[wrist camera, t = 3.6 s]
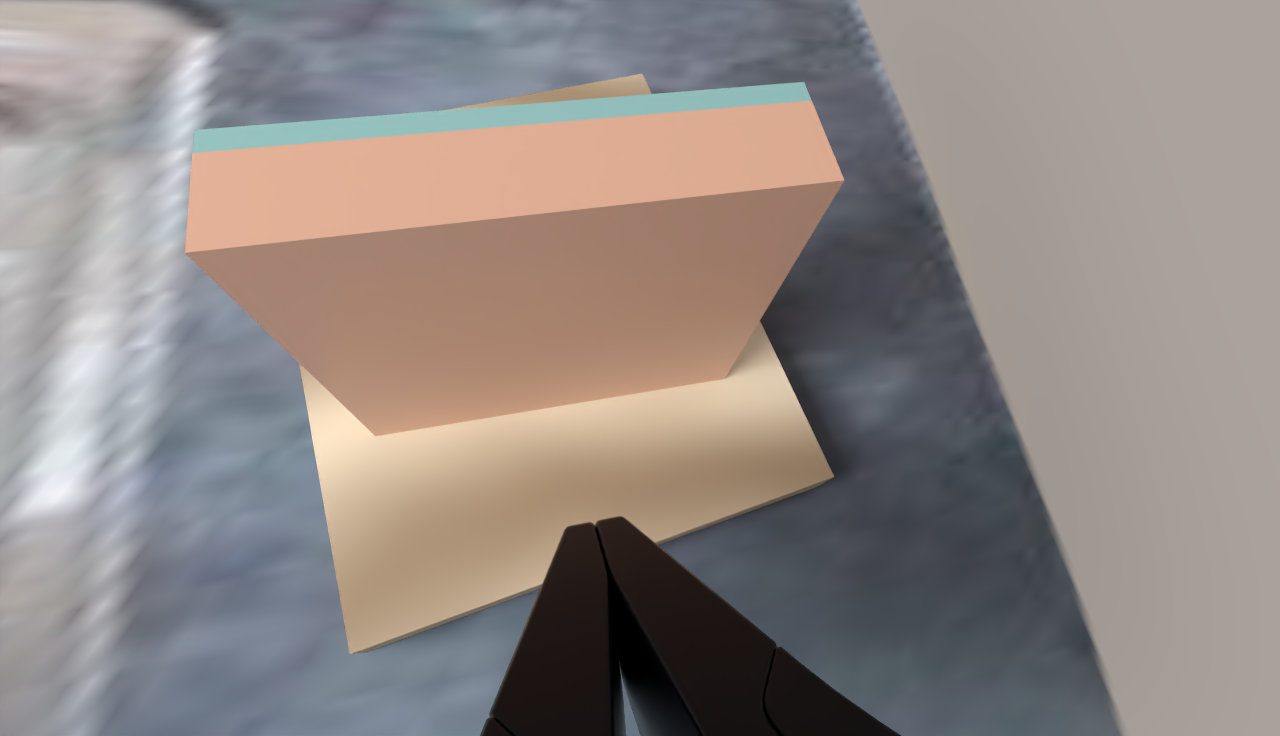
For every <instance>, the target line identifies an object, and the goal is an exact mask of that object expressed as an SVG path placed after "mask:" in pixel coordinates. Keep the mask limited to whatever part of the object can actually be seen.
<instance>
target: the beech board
mask: <svg viewBox="0 0 1280 736" xmlns="http://www.w3.org/2000/svg"><path fill="white" fill-rule="evenodd" d="M647 94H652V93H651V91H650V89H649V87H648V85H647V83H646V81H645V78H644V76H643V74H638V75H633V76H627V77H622V78H617V79H611V80H606V81H600V82H595V83H589V84H584V85H579V86H573V87H568V88H562V89H557V90H551V91H546V92H541V93H535V94H530V95H524V96H519V97H513V98H508V99H503V100H497V101H492V102H486V103H481V104H475V105H470V106H465V107H459V108H454V109H448V110H457V109H469V108H482V107H495V106H507V105H520V104H533V103H545V102H558V101H571V100H583V99H596V98H609V97H621V96H634V95H647ZM443 111H444V110H443ZM299 364H300V363H299ZM300 370H301V375H302V381H303V387H304V393H305V398H306V404H307V410H308V416H309V421H310V427H311V433H312V439H313V445H314V450H315V456H316V462H317V468H318V473H319V479H320V485H321V491H322V496H323V502H324V508H325V514H326V519H327V525H328V531H329V537H330V543H331V548H332V554H333V560H334V566H335V571H336V577H337V583H338V589H339V594H340V600H341V606H342V612H343V618H344V623H345V629H346V635H347V641H348V646H349V652H350V654H356V653H364V652H369V651H372V650H374V649H377V648H380V647H383V646H385V645H388V644H391V643H393V642H396V641H399V640H402V639H404V638H407V637H410V636H412V635H415V634H418V633H421V632H423V631H426V630H429V629H432V628H434V627H437V626H440V625H442V624H445V623H448V622H451V621H453V620H456V619H459V618H461V617H464V616H467V615H470V614H472V613H475V612H478V611H481V610H483V609H486V608H489V607H491V606H494V605H497V604H500V603H502V602H505V601H508V600H510V599H513V598H516V597H519V596H521V595H524V594H527V593H529V592H532V591H535V590H538V589H540V588H541V586H542V583H543V581H544V578H545V576H546V573H547V571H548V568H549V566H550V564H551V561H552V559H553V556H554V554H555V551H556V549H557V546H558V544H559V542H560V539H561V537H562V534H563V532H564V530H565V528H566V527H568V526H571V525H576V524H581V523H586V522H592V523H593V524H594V525H595V524H596V522H597V521H598V520H601V519H606V518H611V517H617V516H622V517H625V518H626V519H627V520H628V521H630V522H631V523H632V524H633V525H634V526H636V527H637V528H638V529H639V530H640V531H642V532H643V533H644V534H645V535H646V536H648V537H649V538H650V539H651V540H652V541H654V542H655V543H656V544H657V545H660V544H663V543H665V542H668V541H671V540H674V539H676V538H679V537H682V536H685V535H687V534H690V533H693V532H695V531H698V530H701V529H704V528H706V527H709V526H712V525H714V524H717V523H720V522H723V521H725V520H728V519H731V518H733V517H736V516H739V515H742V514H744V513H747V512H750V511H753V510H755V509H758V508H761V507H763V506H766V505H769V504H772V503H774V502H777V501H780V500H782V499H785V498H788V497H791V496H793V495H796V494H799V493H802V492H804V491H807V490H810V489H812V488H815V487H818V486H819V485H821V484H823V483H825V482H826V481H828V480H830V479H831V478H833V477H834V475H833V473H832V471H831V469H830V467H829V465H828V463H827V460H826V458H825V456H824V454H823V452H822V450H821V448H820V446H819V444H818V442H817V439H816V437H815V435H814V433H813V431H812V429H811V427H810V425H809V423H808V421H807V418H806V416H805V414H804V412H803V410H802V408H801V406H800V404H799V402H798V400H797V398H796V395H795V393H794V391H793V389H792V387H791V385H790V383H789V381H788V379H787V377H786V374H785V372H784V370H783V368H782V366H781V364H780V362H779V360H778V358H777V356H776V353H775V351H774V349H773V347H772V345H771V343H770V341H769V339H768V337H767V335H766V332H765V330H764V328H763V326H762V324H761V322H760V321H759V323H758V324H757V326H756V328H755V329H754V331H753V333H752V334H751V336H750V337H749V339H748V341H747V342H746V344H745V346H744V347H743V349H742V351H741V352H740V354H739V356H738V357H737V359H736V361H735V362H734V364H733V366H732V367H731V369H730V371H729V372H728V374H727V376H726V377H725V379H722V380H716V381H710V382H703V383H697V384H691V385H685V386H679V387H673V388H667V389H661V390H655V391H649V392H643V393H636V394H630V395H624V396H618V397H612V398H606V399H600V400H594V401H588V402H582V403H576V404H569V405H563V406H557V407H551V408H545V409H539V410H533V411H527V412H521V413H515V414H509V415H502V416H496V417H490V418H484V419H478V420H472V421H466V422H460V423H454V424H448V425H442V426H436V427H429V428H423V429H417V430H411V431H405V432H399V433H393V434H387V435H381V436H375V435H374V434H372V433H371V432H370V431H369V430H368V429H367V428H366V427H365V426H364V425H363V424H362V423H361V422H360V421H359V420H358V419H357V418H356V417H355V416H354V415H353V414H352V413H351V412H350V411H349V410H348V409H347V408H345V407H344V406H343V405H342V404H341V403H340V402H339V401H338V400H337V399H336V398H335V397H334V396H333V395H332V394H331V393H330V392H329V391H328V390H327V389H326V388H325V387H324V386H323V385H322V384H321V383H320V382H319V381H317V380H316V379H315V378H314V377H313V376H312V375H311V374H310V373H309V372H308V371H307V370H306V369H305V368H304V367H303V366H302V365H301V364H300Z"/></svg>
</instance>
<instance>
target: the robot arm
mask: <svg viewBox="0 0 1280 736" xmlns="http://www.w3.org/2000/svg"><path fill="white" fill-rule="evenodd" d="M620 670H621V674H620ZM621 675H622V679H623V682H624V686H625V689H626V692H627V696H628V699H629V702H630V705H631V708H632V711H633V714H634V717H635V720H636V723H637V726H638V729H639V732H640V735H641V736H901V735H899V734H898V733H896V732H895V731H893V730H892V729H890V728H889V727H887V726H886V725H884V724H883V723H881V722H880V721H878V720H877V719H875V718H874V717H872V716H871V715H870V714H868V713H867V712H865V711H864V710H862V709H861V708H860V707H858V706H857V705H855V704H854V703H852V702H851V701H850V700H848V699H847V698H845V697H844V696H843V695H841V694H840V693H838V692H837V691H835V690H834V689H833V688H832V687H830V686H829V685H828V684H827V683H825V682H824V681H823V680H821V679H820V678H819V677H818V676H816V675H815V674H814V673H812V672H811V671H810V670H809V669H807V668H806V667H805V666H804V665H802V664H801V663H800V662H799V661H797V660H796V659H795V658H794V657H793V656H791V655H790V654H789V653H788V652H787V651H785V650H784V649H783V648H782V647H777V645H776V643H775V642H774V641H773V640H772V639H771V638H769V637H768V636H767V635H766V634H765V633H763V632H762V631H761V630H760V629H759V628H757V627H756V626H755V625H754V624H753V623H751V622H750V621H749V620H748V619H746V618H745V617H744V616H743V615H742V614H740V613H739V612H738V611H737V610H736V609H734V608H733V607H732V606H731V605H730V604H728V603H727V602H726V601H725V600H724V599H722V598H721V597H720V596H719V595H718V594H716V593H715V592H714V591H713V590H712V589H710V588H709V587H708V586H707V585H706V584H704V583H703V582H702V581H701V580H699V579H698V578H697V577H696V576H695V575H693V574H692V573H691V572H690V571H689V570H687V569H686V568H685V567H684V566H683V565H681V564H680V563H679V562H678V561H677V560H675V559H674V558H673V557H672V556H671V555H669V554H668V553H667V552H666V551H665V550H663V549H662V548H661V547H660V546H658V545H657V544H656V543H655V542H654V541H652V540H651V539H650V538H649V537H648V536H646V535H645V534H644V533H643V532H642V531H640V530H639V529H638V528H637V527H636V526H634V525H633V524H632V523H631V522H630V521H628V520H627V519H626V518H625V517H622V516H617V517H611V518H606V519H601V520H598V521H597V522H596V524H595V525H594V524H593V523H592V522H586V523H581V524H576V525H571V526H568V527H566V528H565V530H564V532H563V534H562V537H561V539H560V542H559V544H558V546H557V549H556V551H555V554H554V556H553V559H552V561H551V564H550V566H549V568H548V571H547V573H546V576H545V578H544V581H543V583H542V586H541V588H540V591H539V593H538V595H537V598H536V600H535V603H534V605H533V608H532V610H531V613H530V615H529V617H528V620H527V622H526V625H525V627H524V630H523V632H522V635H521V637H520V640H519V642H518V644H517V647H516V649H515V652H514V654H513V657H512V659H511V662H510V664H509V667H508V669H507V671H506V674H505V676H504V679H503V681H502V684H501V686H500V689H499V691H498V693H497V696H496V698H495V701H494V703H493V706H492V708H491V711H490V714H489V715H490V718H488V719H487V720H486V722H485V725H484V727H483V729H482V732H481V734H480V736H626V729H625V716H624V703H623V692H622V683H621Z"/></svg>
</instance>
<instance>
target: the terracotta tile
mask: <svg viewBox="0 0 1280 736" xmlns="http://www.w3.org/2000/svg"><path fill="white" fill-rule="evenodd" d="M843 182H844V178H843V176H842V173H841V171H840V168H839V166H838V164H837V161H836V159H835V156H834V154H833V151H832V149H831V147H830V144H829V142H828V139H827V137H826V134H825V132H824V130H823V127H822V125H821V122H820V120H819V117H818V115H817V113H816V110H815V108H814V105H813V103H812V100H811V98H810V96H809V93H808V91H807V88H806V86H805V83H804V82H799V83H786V84H773V85H761V86H748V87H735V88H723V89H710V90H697V91H685V92H672V93H659V94H647V95H634V96H621V97H609V98H596V99H583V100H571V101H558V102H545V103H533V104H520V105H507V106H495V107H482V108H469V109H457V110H444V111H431V112H419V113H406V114H393V115H381V116H368V117H355V118H343V119H330V120H317V121H305V122H292V123H279V124H267V125H254V126H241V127H229V128H216V129H203V130H194V142H193V155H192V168H191V181H190V193H189V206H188V219H187V232H186V245H185V253H186V254H187V255H188V256H189V257H190V258H191V259H192V260H193V261H194V262H195V263H196V264H197V265H198V266H199V267H200V268H201V269H202V270H203V271H204V272H205V273H206V274H207V275H208V276H210V277H211V278H212V279H213V280H214V281H215V282H216V283H217V284H218V285H219V286H220V287H221V288H222V289H223V290H224V291H225V292H226V293H227V294H228V295H229V296H230V297H231V298H232V299H233V300H234V301H235V302H237V303H238V304H239V305H240V306H241V307H242V308H243V309H244V310H245V311H246V312H247V313H248V314H249V315H250V316H251V317H252V318H253V319H254V320H255V321H256V322H257V323H258V324H259V325H260V326H261V327H262V328H263V329H265V330H266V331H267V332H268V333H269V334H270V335H271V336H272V337H273V338H274V339H275V340H276V341H277V342H278V343H279V344H280V345H281V346H282V347H283V348H284V349H285V350H286V351H287V352H288V353H289V354H290V355H292V356H293V357H294V358H295V359H296V360H297V361H298V362H299V363H300V364H301V365H302V366H303V367H304V368H305V369H306V370H307V371H308V372H309V373H310V374H311V375H312V376H313V377H314V378H315V379H316V380H317V381H319V382H320V383H321V384H322V385H323V386H324V387H325V388H326V389H327V390H328V391H329V392H330V393H331V394H332V395H333V396H334V397H335V398H336V399H337V400H338V401H339V402H340V403H341V404H342V405H343V406H344V407H345V408H347V409H348V410H349V411H350V412H351V413H352V414H353V415H354V416H355V417H356V418H357V419H358V420H359V421H360V422H361V423H362V424H363V425H364V426H365V427H366V428H367V429H368V430H369V431H370V432H371V433H372V434H374V435H375V436H381V435H387V434H393V433H399V432H405V431H411V430H417V429H423V428H429V427H436V426H442V425H448V424H454V423H460V422H466V421H472V420H478V419H484V418H490V417H496V416H502V415H509V414H515V413H521V412H527V411H533V410H539V409H545V408H551V407H557V406H563V405H569V404H576V403H582V402H588V401H594V400H600V399H606V398H612V397H618V396H624V395H630V394H636V393H643V392H649V391H655V390H661V389H667V388H673V387H679V386H685V385H691V384H697V383H703V382H710V381H716V380H722V379H725V377H726V376H727V374H728V372H729V371H730V369H731V367H732V366H733V364H734V362H735V361H736V359H737V357H738V356H739V354H740V352H741V351H742V349H743V347H744V346H745V344H746V342H747V341H748V339H749V337H750V336H751V334H752V333H753V331H754V329H755V328H756V326H757V324H758V323H759V321H760V319H761V318H762V316H763V314H764V313H765V311H766V309H767V308H768V306H769V304H770V303H771V301H772V299H773V298H774V296H775V294H776V293H777V291H778V289H779V288H780V286H781V285H782V283H783V281H784V280H785V278H786V276H787V275H788V273H789V271H790V270H791V268H792V266H793V265H794V263H795V261H796V260H797V258H798V256H799V255H800V253H801V251H802V250H803V248H804V246H805V245H806V243H807V241H808V240H809V238H810V237H811V235H812V233H813V232H814V230H815V228H816V227H817V225H818V223H819V222H820V220H821V218H822V217H823V215H824V213H825V212H826V210H827V208H828V207H829V205H830V203H831V202H832V200H833V198H834V197H835V195H836V193H837V192H838V190H839V189H840V187H841V185H842V184H843Z"/></svg>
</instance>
